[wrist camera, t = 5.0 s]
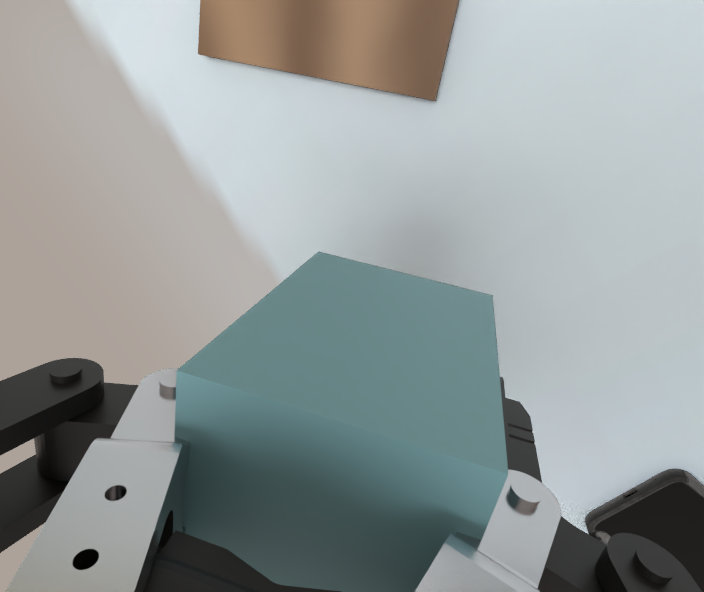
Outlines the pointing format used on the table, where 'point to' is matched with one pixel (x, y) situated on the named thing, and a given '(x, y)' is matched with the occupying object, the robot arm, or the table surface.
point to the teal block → (345, 427)
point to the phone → (659, 517)
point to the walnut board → (336, 39)
